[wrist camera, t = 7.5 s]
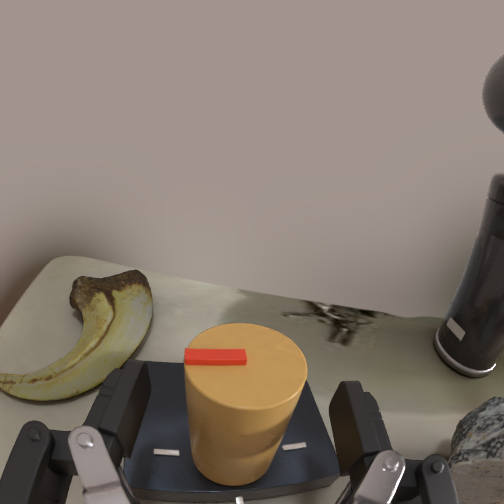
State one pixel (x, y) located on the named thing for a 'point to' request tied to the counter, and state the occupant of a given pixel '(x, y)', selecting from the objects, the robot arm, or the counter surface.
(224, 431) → the tan cylinder
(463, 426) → the stone
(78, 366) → the claw
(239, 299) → the counter surface
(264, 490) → the panel
